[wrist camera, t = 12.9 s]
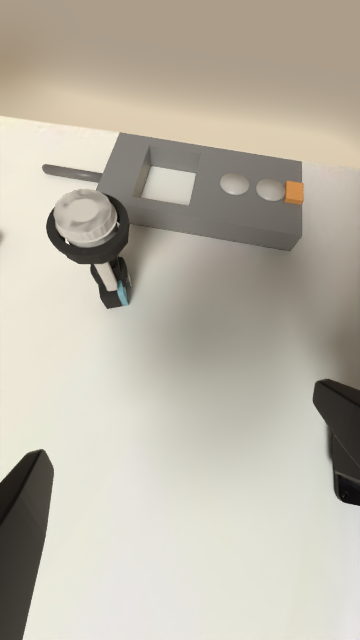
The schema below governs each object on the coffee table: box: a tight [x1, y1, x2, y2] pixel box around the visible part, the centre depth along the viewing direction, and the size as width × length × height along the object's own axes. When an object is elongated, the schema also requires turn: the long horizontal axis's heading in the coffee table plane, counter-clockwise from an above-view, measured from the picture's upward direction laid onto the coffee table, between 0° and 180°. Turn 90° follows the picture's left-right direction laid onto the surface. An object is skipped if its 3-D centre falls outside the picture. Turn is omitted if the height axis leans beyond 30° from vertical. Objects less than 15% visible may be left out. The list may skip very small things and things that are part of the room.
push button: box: [46, 189, 132, 309], centre depth 20 cm, size 7×5×10 cm
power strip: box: [42, 132, 303, 251], centre depth 27 cm, size 30×11×3 cm, turn 80°
